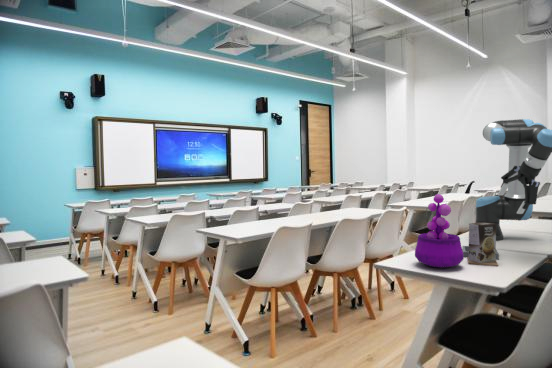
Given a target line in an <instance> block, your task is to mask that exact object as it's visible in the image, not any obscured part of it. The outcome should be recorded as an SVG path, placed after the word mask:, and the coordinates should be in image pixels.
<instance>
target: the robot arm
mask: <svg viewBox="0 0 552 368" xmlns="http://www.w3.org/2000/svg"><path fill="white" fill-rule="evenodd" d="M482 137H483V138H484V139H485V140H486V141H488V142H489V143H490V144H491V145H493V146H506V147H507V148H508V152H509V153H508V172H506V173H505V174H503V175H502V176H501V177H500V179H501V180H502V183H501V185H500V189H499V191H498V193H497V195H488V196H481V197H478V198H477V199H476V200H475V201H476V202H475V203H476V204H475V223H481V222H485V223H494V224H496V241H502V240H504V234H503V232H502V229H501V225H500V221H503V220H504V221H518V222H519V221H520V222H521V221H527V220H530V218H531V216H532V214H533V209H534V205H536V204H537V199H538V193H539V192H538V191H539V187H540V185H541V182H540V181H536V180H535V179H536V178H537V177H539V175H540V172H541V171H542V168H544V166H545V165H546V163H547V161H548V159H549V157H550V156H551V155H552V129H550V128H548V127H547V126H546V125H544V124H542V123H540V122H534V121H533V120H532V119H530V118H529V119H528V118H527V119H525V118H521V119H506V120H496V121H492V122H490V123H488V124H486V125H485V127H484V128H483V130H482ZM529 148H530V149H529ZM500 196H503V197H504V198H501V197H500Z"/></svg>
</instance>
